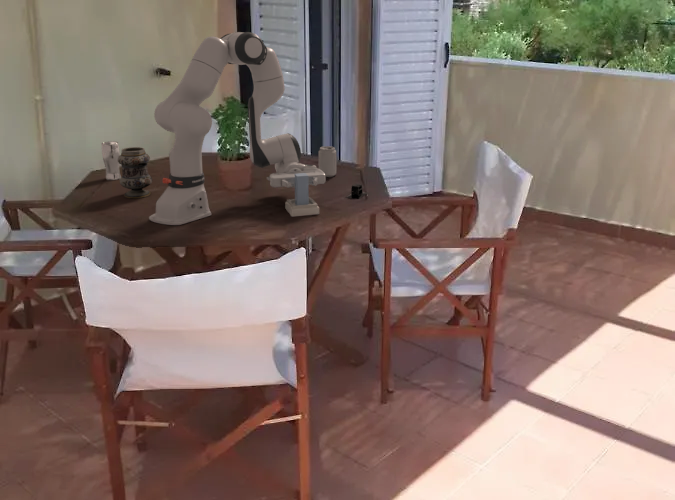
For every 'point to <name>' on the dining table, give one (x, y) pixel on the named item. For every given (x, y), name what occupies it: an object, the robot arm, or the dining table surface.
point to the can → (327, 160)
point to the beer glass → (111, 159)
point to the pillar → (301, 189)
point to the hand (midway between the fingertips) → (302, 184)
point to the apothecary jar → (135, 171)
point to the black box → (356, 192)
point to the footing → (301, 208)
